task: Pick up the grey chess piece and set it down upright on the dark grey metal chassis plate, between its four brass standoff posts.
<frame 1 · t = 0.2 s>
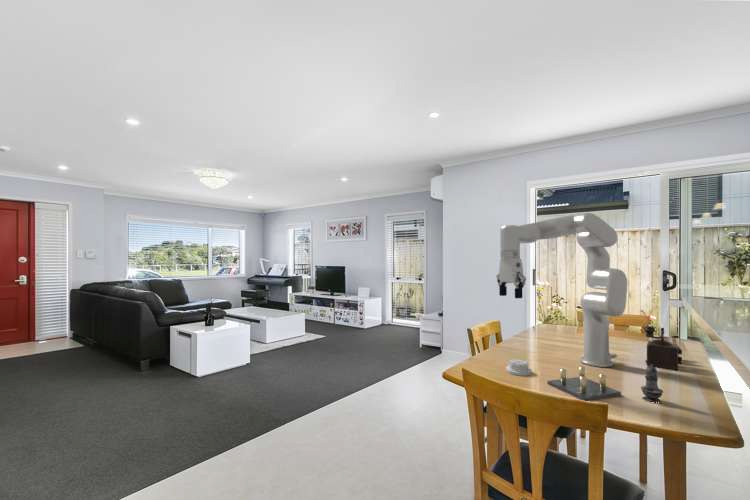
hand: (510, 296, 145), 31 cm above the table, tool pointing down, fingers open, 9 cm apart
grey chess piece: (652, 400, 117), on the table
standoff chassis: (582, 389, 126), on the table
end cap: (669, 360, 161), on the table
dark boxy piece: (661, 367, 152), on the table
mechanical component: (518, 372, 146), on the table
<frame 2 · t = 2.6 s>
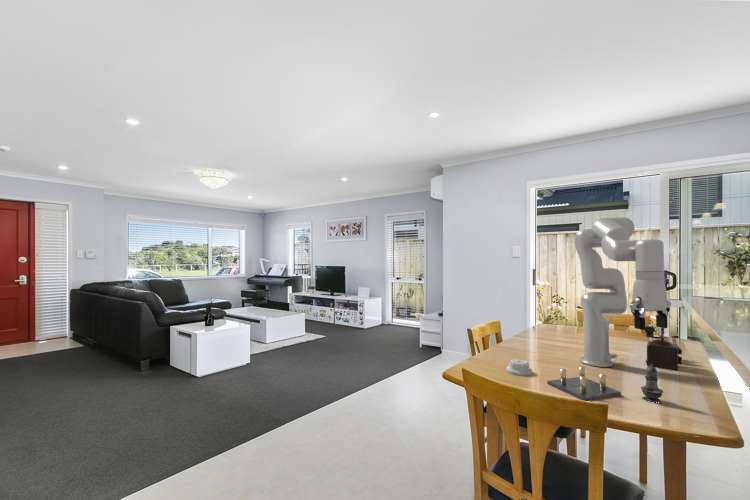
hand: (650, 328, 117), 24 cm above the table, tool pointing down, fingers open, 9 cm apart
nothing on the table moved.
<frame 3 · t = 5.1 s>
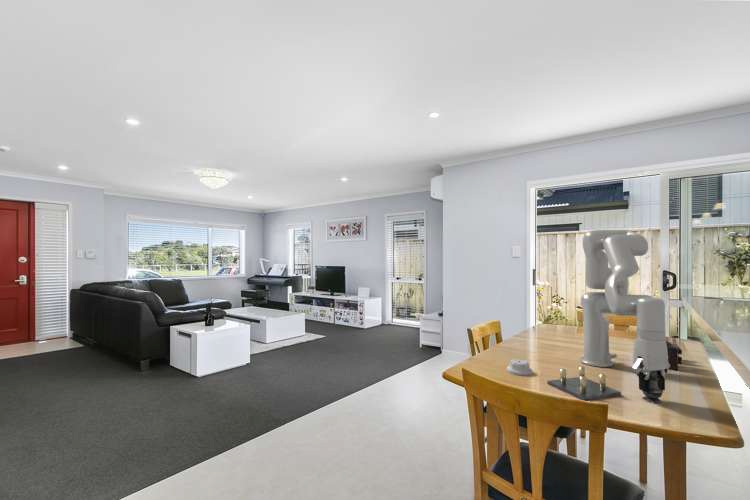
hand: (651, 389, 117), 4 cm above the table, tool pointing down, fingers closed on grey chess piece, 5 cm apart
grey chess piece: (652, 400, 117), on the table, touching gripper
everything else where it was.
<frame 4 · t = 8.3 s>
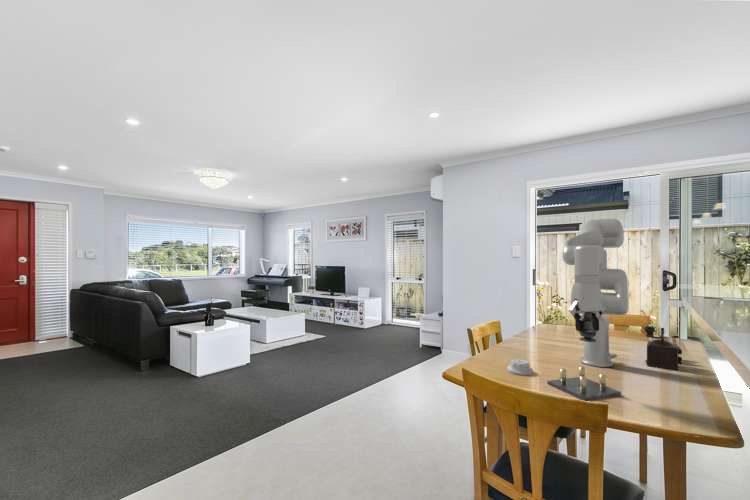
hand: (587, 330, 126), 21 cm above the table, tool pointing down, fingers closed on grey chess piece, 5 cm apart
grey chess piece: (587, 340, 126), point 18 cm above the table, touching gripper
everything else where it was.
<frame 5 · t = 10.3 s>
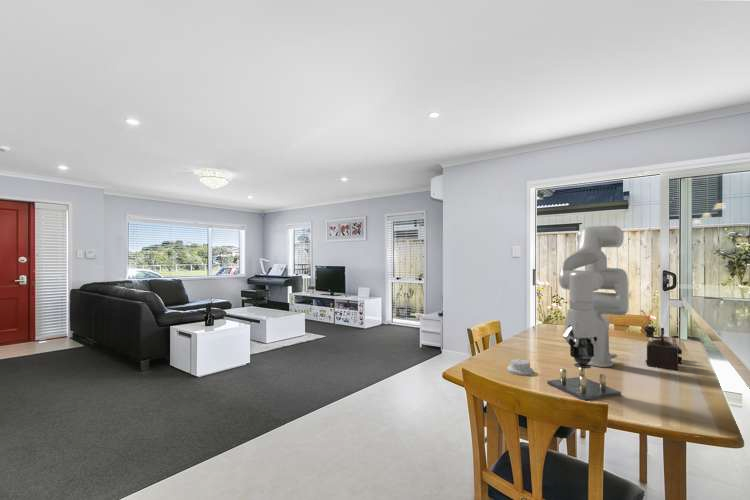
hand: (582, 356, 126), 12 cm above the table, tool pointing down, fingers closed on grey chess piece, 5 cm apart
grey chess piece: (582, 366, 126), point 8 cm above the table, touching gripper
everything else where it was.
when the fingers open (6 cm above the table, at t = 11.8 s): grey chess piece drops 1 cm, resting on standoff chassis.
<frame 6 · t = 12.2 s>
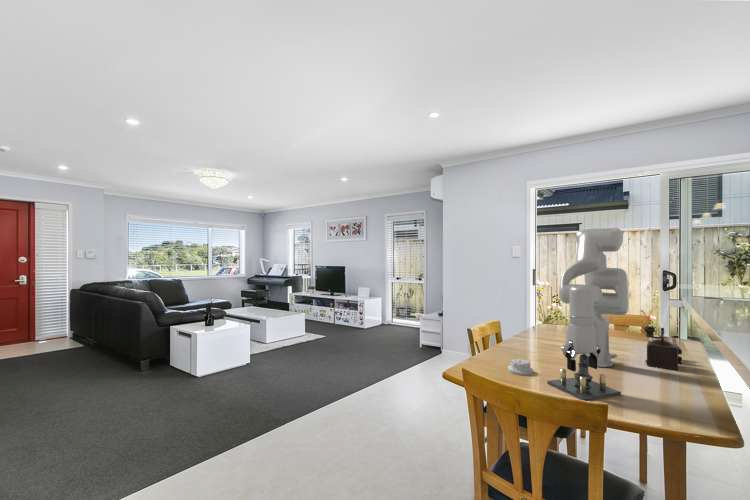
hand: (582, 369, 126), 7 cm above the table, tool pointing down, fingers open, 9 cm apart
grey chess piece: (582, 386, 126), point 1 cm above the table, touching standoff chassis
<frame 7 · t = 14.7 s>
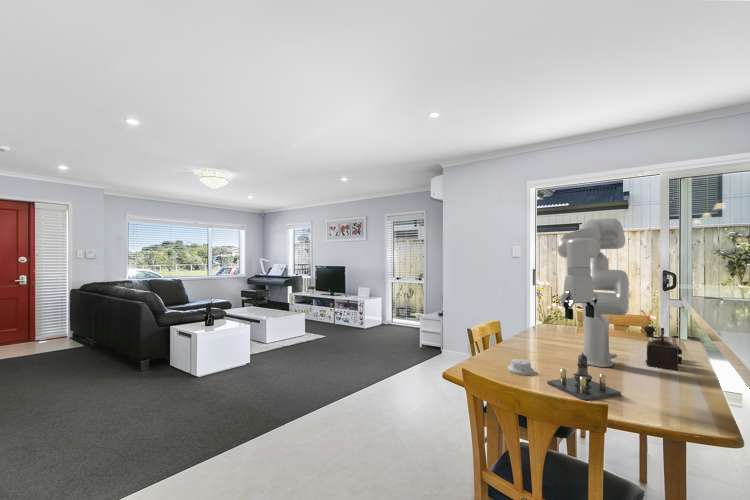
hand: (579, 318, 130), 25 cm above the table, tool pointing down, fingers open, 9 cm apart
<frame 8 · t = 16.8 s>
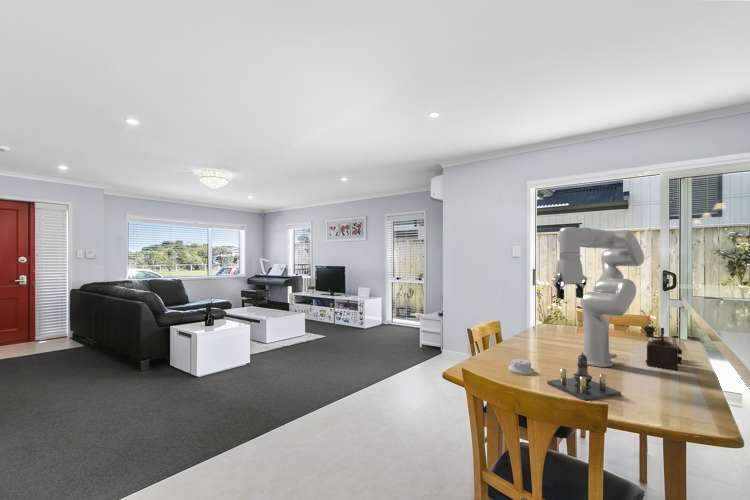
hand: (570, 298, 146), 30 cm above the table, tool pointing down, fingers open, 9 cm apart
at the end: grey chess piece 0.2 cm off-centre on the standoff chassis, point 1.0 cm above the standoff chassis's base; grey chess piece tilted 0°; the gripper is holding nothing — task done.
